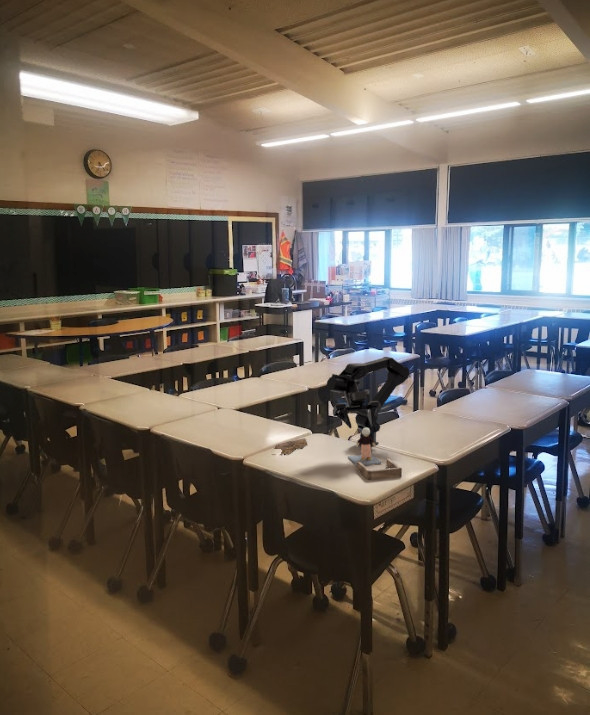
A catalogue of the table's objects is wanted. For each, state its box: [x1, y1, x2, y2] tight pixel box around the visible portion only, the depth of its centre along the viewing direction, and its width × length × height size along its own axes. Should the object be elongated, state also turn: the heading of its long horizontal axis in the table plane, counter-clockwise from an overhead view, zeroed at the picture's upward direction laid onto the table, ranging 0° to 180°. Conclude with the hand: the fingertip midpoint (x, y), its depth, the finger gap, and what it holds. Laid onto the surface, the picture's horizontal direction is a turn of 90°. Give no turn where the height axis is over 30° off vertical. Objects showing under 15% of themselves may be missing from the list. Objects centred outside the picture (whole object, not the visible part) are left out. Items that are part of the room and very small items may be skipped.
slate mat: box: [347, 453, 383, 467], centre depth 234 cm, size 10×10×1 cm
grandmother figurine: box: [355, 428, 377, 460], centre depth 233 cm, size 8×4×13 cm, turn 108°
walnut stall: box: [356, 458, 403, 481], centre depth 221 cm, size 11×13×3 cm
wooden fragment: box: [273, 438, 308, 456], centre depth 251 cm, size 26×11×1 cm, turn 146°
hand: (361, 427), depth 235 cm, fingers open, 9 cm apart
